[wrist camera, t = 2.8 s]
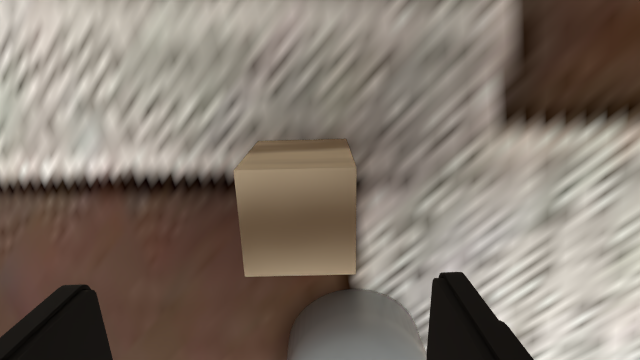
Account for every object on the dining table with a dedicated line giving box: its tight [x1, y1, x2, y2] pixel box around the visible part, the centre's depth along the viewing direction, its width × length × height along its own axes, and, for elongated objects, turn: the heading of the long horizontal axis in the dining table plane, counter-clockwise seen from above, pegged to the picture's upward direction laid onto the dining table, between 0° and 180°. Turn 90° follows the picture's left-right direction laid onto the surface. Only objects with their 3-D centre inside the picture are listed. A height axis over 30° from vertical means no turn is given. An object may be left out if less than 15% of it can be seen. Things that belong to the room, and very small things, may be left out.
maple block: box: [234, 139, 356, 277], centre depth 18 cm, size 5×5×6 cm
